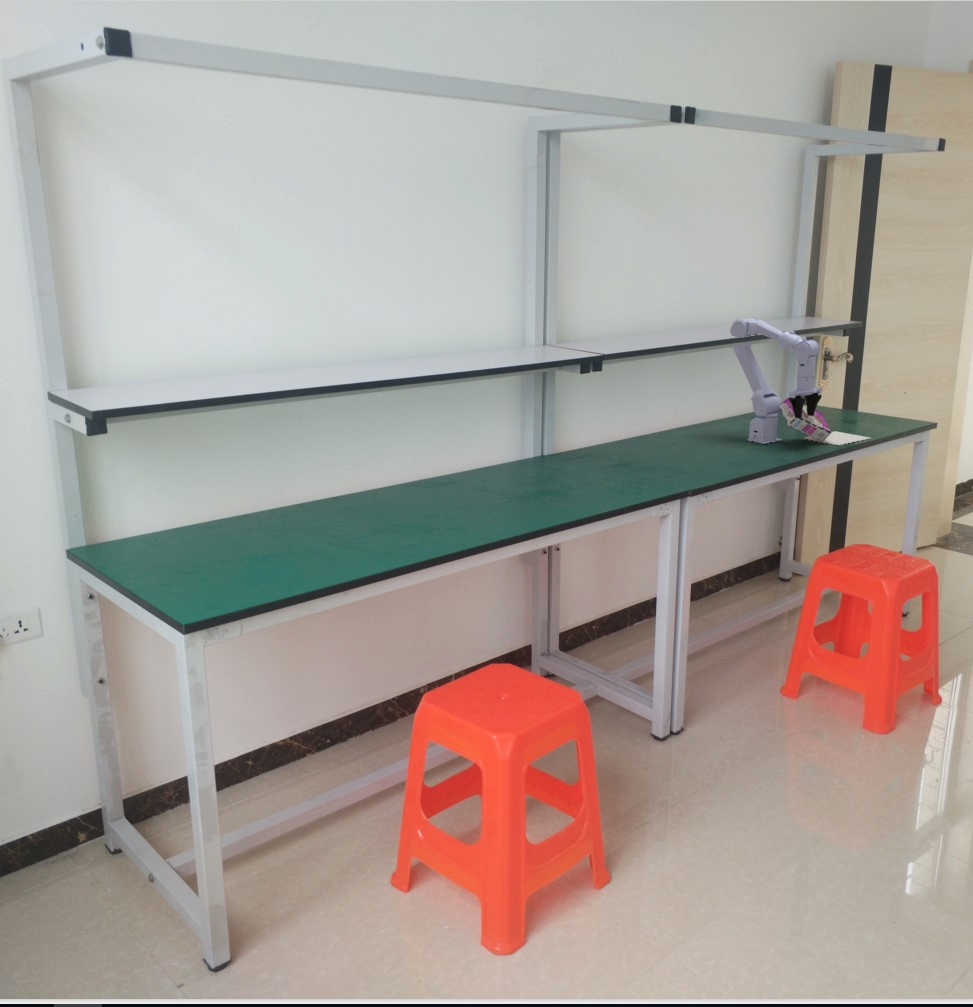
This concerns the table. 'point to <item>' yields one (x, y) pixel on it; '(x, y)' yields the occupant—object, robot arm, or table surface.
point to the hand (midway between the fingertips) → (804, 416)
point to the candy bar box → (806, 421)
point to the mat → (840, 438)
